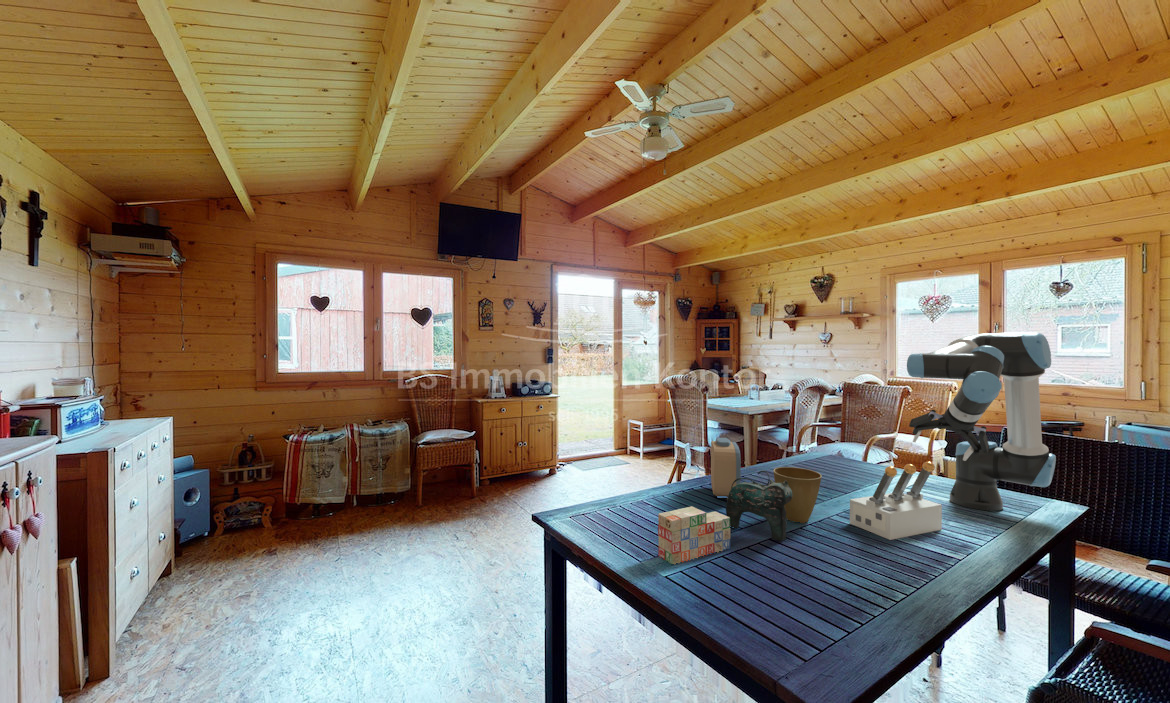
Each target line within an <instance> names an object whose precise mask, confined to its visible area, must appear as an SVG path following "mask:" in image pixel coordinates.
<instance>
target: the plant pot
mask: <svg viewBox="0 0 1170 703" xmlns="http://www.w3.org/2000/svg"><path fill="white" fill-rule="evenodd" d="M772 473H773V478H774V480H773V481H774V483H783V482H784V481H785V480H786V481H787V482H788V485H789V487H790V488H791V490H792V499H791V500H790V501H789V502H788V503H787V504H785V505H784V507H785V510H786V520H787V519H788V520H790V521H789V522H791V521H794V522H793V523H795V522H800V523H799V524H805V522H806V523H808V521H809V519H810V518H811V515H812V513H813V511H814V509H815V508H814V507H815V505H816V502H817V498H818V496H819V495H818V494H819V492H820V487H821V481H822V476H823V475H822V474H821V473H820V472H818V471H814V470H812V469H808V468H802V467H794V466H780V467H775V468H774V469H773V472H772ZM788 520H787V521H788Z"/></svg>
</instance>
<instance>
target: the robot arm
mask: <svg viewBox="0 0 1170 703" xmlns="http://www.w3.org/2000/svg"><path fill="white" fill-rule="evenodd" d="M1051 366H1052V354H1051V348H1050V344H1049V341H1048V339H1047V337H1046V336H1045V335H1044V334H1043V333H1040V332H1027V331H1021V332H1018V331H1017V332H998V333H997V332H994V333H993V332H991V333H990V332H989V333H988V332H985V333H977V334H972V335H969V336H964V337H961V338H958V339H955V340H952V342H950V343H949V344H948V345H947V346H945V347H942V348H939V349H936V350H934V351H931V352H927V353H923V352H919V353H911V354H909V356H908V357H907V360H906V371H907V373H908V375H909V376H910V377H912V378H921V379H941V380H942V379H947V380H949V379H950V380H962V382H961V385H960V387H959V390H958V391H957V393H956V395H955V396H954V397H953V399H952V401H951V402H950V404H949V406H947V408H946V410H945V411H944V413H943V414H939V413H937V412H936V411H937V410H935V409H931V410H930V411H929V412H927V413H924V414H923V415H919V416H917V417H915V418H914V417H913V418H912V419H910V422H909V424H908V426H909V427H910V428H913V430H912V435H914V436H913V440H912V442H913V443H916V442H917V440H919V437H920V435H921V434H922V431H926V430H934V429H937V430H943V429H945V430H946V431H950V432H953V433H955V434H959V435H961V437H962V438H964V439H965V441H962V442H958V443H956V448H955V481H954V483H953V486H952V488H951V490H950V493H949V501H951V503H954V504H956V505H958V506H961V507H965V508H969V509H975V510H980V511H991V512H992V511H993V512H994V511H1002V510H1003V509H1004V502H1003V499H1002V497H1001V494H1000V492H999V489H998V486H997V481H1003V482H1008V483H1013V484H1014V483H1015V484H1020V485H1026V486H1030V487H1039V488H1047V487H1049V486H1050V485H1051V483H1052V480H1053V477H1054V474H1055V468H1056V461H1057V458H1056V457H1057V456H1056V455H1055V454H1053V453H1050V452H1049V451H1050V450H1049V447H1048V446H1047V445H1046V444H1044V443H1043V436H1042V418H1041V416H1042V415H1041V396H1040V395H1041V393H1040V379H1039V378H1040V377H1041V376H1043V375H1044V374H1045V372H1046V369H1049V368H1051ZM1001 377H1003V382H1004V383H1003V385H1004V387H1003V385H1002V382H1001V380H1000V379H1001ZM1002 387H1003V388H1004V398H1005V399H1004V400H1005V402H1004V403H1005V416H1006V429H1007V430H1006V431H1007V441H1006V442H1004V443H1003V444H1002V447H999V446H998V443H997V442H996V441H995V442H994V441H989V440H988V437H987V433H986V432H987V427H986V426H985V425H983V426H981V427H979V426H975V425H976V424H977V423H978V421H980V419H981V418H982V416H983V415H984V414H985V412H986V411H987V410H988V408H989V407H990V406H991V404H992V403H993V402H994V400H996V398H998V396H999V395H1000V391H1001V390H1002ZM973 432H975V434H976V435H975V434H974V433H973ZM976 436H977V437H976ZM977 438H978V439H977Z"/></svg>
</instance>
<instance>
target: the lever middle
mask: <svg viewBox="0 0 1170 703" xmlns="http://www.w3.org/2000/svg"><path fill="white" fill-rule="evenodd" d="M916 472H917V467H916V466H915V464H911V463H907V464H905V465H904V467H903V471H902V473H901V475H900V477H899V479H898V481H897V483H896V485H895V486H894V488H893V490H892V492H891V493H892V494H890V495H888V497H890V498H893V499H894V501H899V500H902V494H903V493H904V491H905V490H906V488H907V487H908V485H909V482H910V481H911V479H912V477H913V475H914V474H916Z"/></svg>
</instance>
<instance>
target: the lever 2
mask: <svg viewBox="0 0 1170 703" xmlns="http://www.w3.org/2000/svg"><path fill="white" fill-rule="evenodd" d="M935 468H936V467H935V464H934V463H933V462H931V461H924V462H923V464H922V468H921V470H920V471H919V474H918V476H917V477H916V479H915V481H914V482H913V484H912V486H911V488H910V490H909V491H907V492H906V493H905V494H908V495H911V496H913V498H918V497H920V494H921V492H922V490H923V487H924V486H925V485H926V483H927V481H928V479H929V477H930V475H931V473H932V472H933V471H934V470H935Z"/></svg>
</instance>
